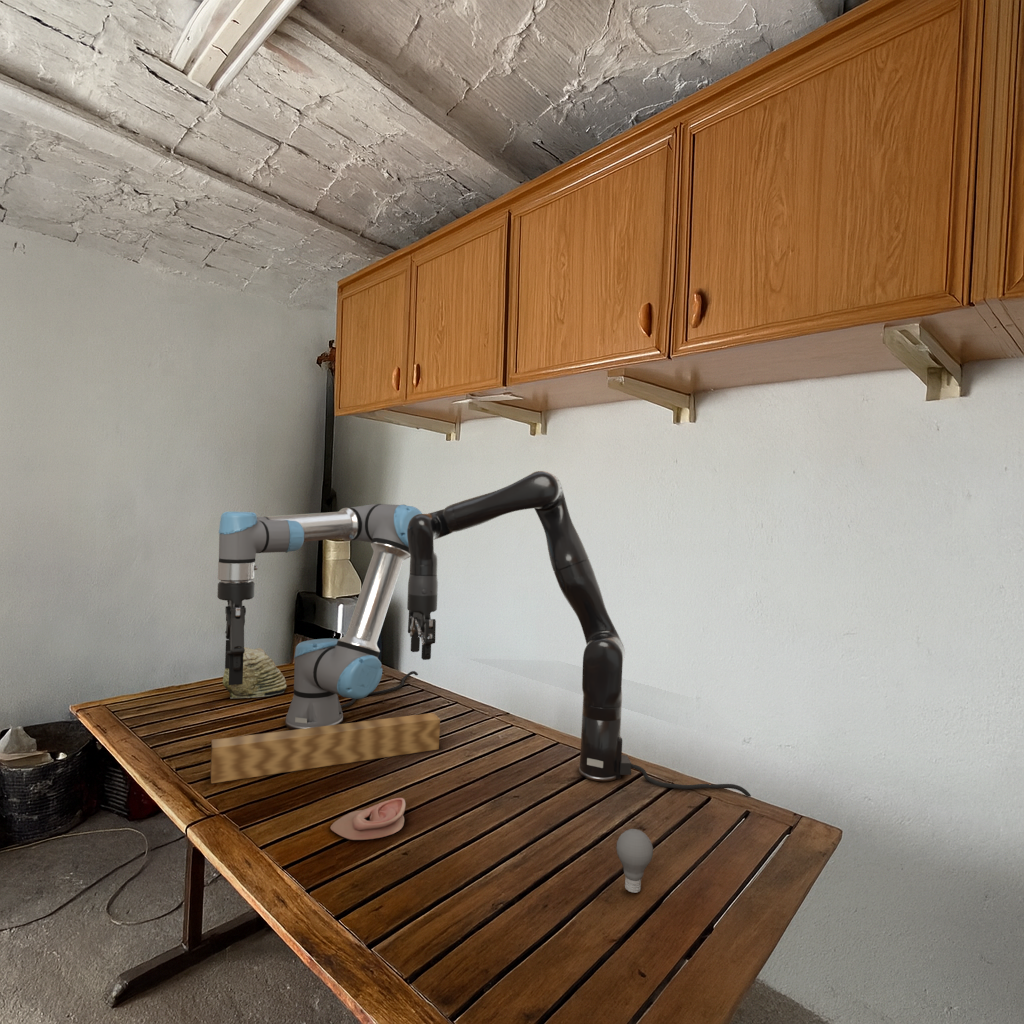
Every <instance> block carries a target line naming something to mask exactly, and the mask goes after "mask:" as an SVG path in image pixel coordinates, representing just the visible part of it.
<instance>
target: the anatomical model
mask: <svg viewBox="0 0 1024 1024" xmlns="http://www.w3.org/2000/svg"><path fill="white" fill-rule="evenodd" d="M406 807H407V804H406V799H405V798H403V797H396V798H391V799H388V800H385V801H382V802H378V803H376V804H374V805H372V806H370V807H367V808H364V809H360V810H355V811H351V812H348V813H347V814H344V815H343V816H341V817H340V818H338V819H336V820H335V821H334V822H333V823H332V824H331V825H330V830H331V832H333V833H335V834H337V835H338V836H339V837H342V838H344V839H346V840H351V841H365V840H374V839H380V838H384V837H388V836H391V835H394V834H395V833H397V832H399V831H400V830H402V829H403V828H404V825H405V816H404V814H405V812H406V811H405V810H406Z"/></svg>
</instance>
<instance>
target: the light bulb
mask: <svg viewBox="0 0 1024 1024" xmlns="http://www.w3.org/2000/svg"><path fill="white" fill-rule="evenodd" d="M615 849H616V854H617V857H618V859H619V861H620V863H621V865H622V867H623V873H624V874H623V875H624V876H625V878H624V888H625V890H627V891H628V892H630V893H634V894H635V893H639V892H640V891H641V889H642V887H641V886H642V879H643V877H644V875H645V871H646V868H647V867H648V866H649V864H650V863H651V861H652V859H653V855H654V847H653V843H652V841H651V838H649V836H648V835H647V834H646V833H645V832H643V831H642V830H641V829H636V828H629V829H627V830H625V831H623V832H622V833H621V834H620V835H619V837H618V839H617V841H616V847H615Z"/></svg>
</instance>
